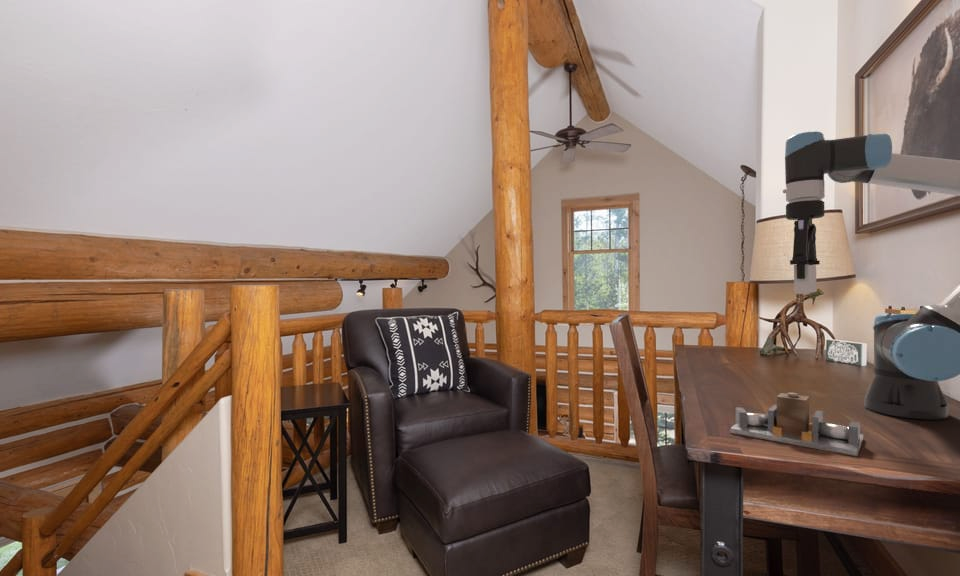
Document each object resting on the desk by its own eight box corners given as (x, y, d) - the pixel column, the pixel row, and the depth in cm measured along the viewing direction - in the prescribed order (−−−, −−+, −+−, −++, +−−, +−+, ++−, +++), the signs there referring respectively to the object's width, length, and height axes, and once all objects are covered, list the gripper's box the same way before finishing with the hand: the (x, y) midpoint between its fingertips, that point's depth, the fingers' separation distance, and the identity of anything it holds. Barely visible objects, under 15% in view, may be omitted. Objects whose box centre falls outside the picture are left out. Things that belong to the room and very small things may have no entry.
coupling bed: (863, 439, 98) (863, 413, 98) (857, 456, 89) (857, 427, 89) (745, 420, 112) (745, 397, 112) (730, 432, 103) (730, 408, 103)
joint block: (809, 430, 101) (809, 393, 101) (805, 435, 98) (805, 397, 98) (780, 426, 104) (781, 390, 104) (776, 430, 101) (776, 393, 101)
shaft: (766, 424, 106) (766, 409, 106) (771, 429, 102) (771, 414, 102) (735, 422, 108) (735, 407, 108) (739, 427, 104) (739, 412, 104)
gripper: (794, 208, 128) (795, 291, 128) (776, 197, 109) (777, 294, 109) (829, 205, 123) (830, 290, 123) (817, 193, 104) (819, 294, 104)
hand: (805, 293), depth 116 cm, fingers open, 13 cm apart
